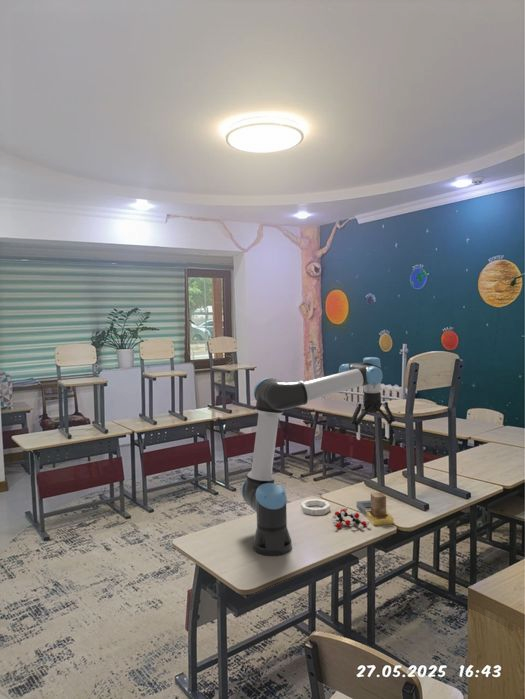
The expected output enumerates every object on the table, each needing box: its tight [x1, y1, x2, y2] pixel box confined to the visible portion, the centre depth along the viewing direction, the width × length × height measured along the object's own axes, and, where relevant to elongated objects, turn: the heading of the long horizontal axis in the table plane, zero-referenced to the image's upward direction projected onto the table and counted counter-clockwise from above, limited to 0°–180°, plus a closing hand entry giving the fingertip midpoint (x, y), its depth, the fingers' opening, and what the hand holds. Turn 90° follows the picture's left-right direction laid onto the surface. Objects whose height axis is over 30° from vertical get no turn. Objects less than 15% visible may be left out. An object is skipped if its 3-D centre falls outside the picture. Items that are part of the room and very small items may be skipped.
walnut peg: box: [370, 492, 387, 517], centre depth 214 cm, size 5×5×11 cm
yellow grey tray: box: [356, 499, 395, 526], centre depth 219 cm, size 9×21×3 cm, turn 9°
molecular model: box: [332, 506, 370, 530], centre depth 210 cm, size 10×12×15 cm
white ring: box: [300, 498, 331, 516], centre depth 227 cm, size 12×12×2 cm
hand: (372, 438), depth 222 cm, fingers open, 13 cm apart
